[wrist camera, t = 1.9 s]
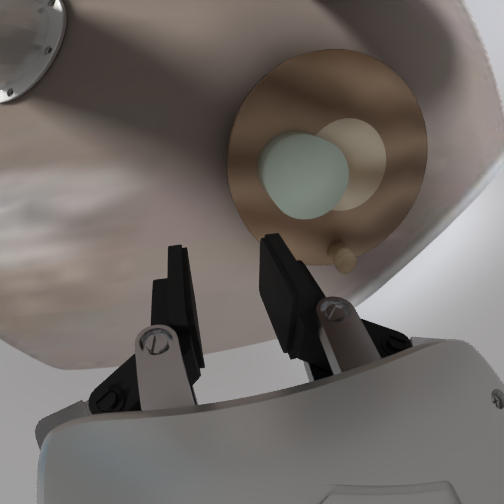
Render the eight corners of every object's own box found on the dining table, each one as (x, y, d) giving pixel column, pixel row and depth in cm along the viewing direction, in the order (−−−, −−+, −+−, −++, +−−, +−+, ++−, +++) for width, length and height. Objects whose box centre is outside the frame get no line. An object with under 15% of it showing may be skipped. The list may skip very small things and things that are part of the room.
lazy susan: (224, 39, 18) (234, 28, 15) (427, 76, 23) (455, 81, 19) (230, 271, 31) (238, 297, 28) (398, 245, 36) (417, 263, 33)
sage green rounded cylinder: (257, 130, 22) (271, 137, 19) (330, 131, 24) (353, 140, 20) (256, 204, 26) (268, 223, 23) (323, 199, 27) (343, 216, 24)
